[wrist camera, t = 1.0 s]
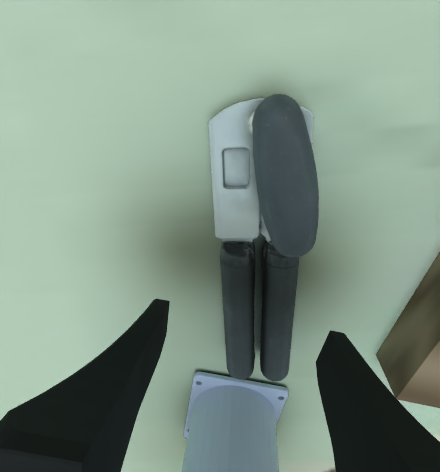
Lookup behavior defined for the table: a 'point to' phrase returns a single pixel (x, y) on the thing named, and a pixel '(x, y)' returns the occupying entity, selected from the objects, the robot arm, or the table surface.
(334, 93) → the table surface
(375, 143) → the table surface
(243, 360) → the can opener
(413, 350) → the walnut block
